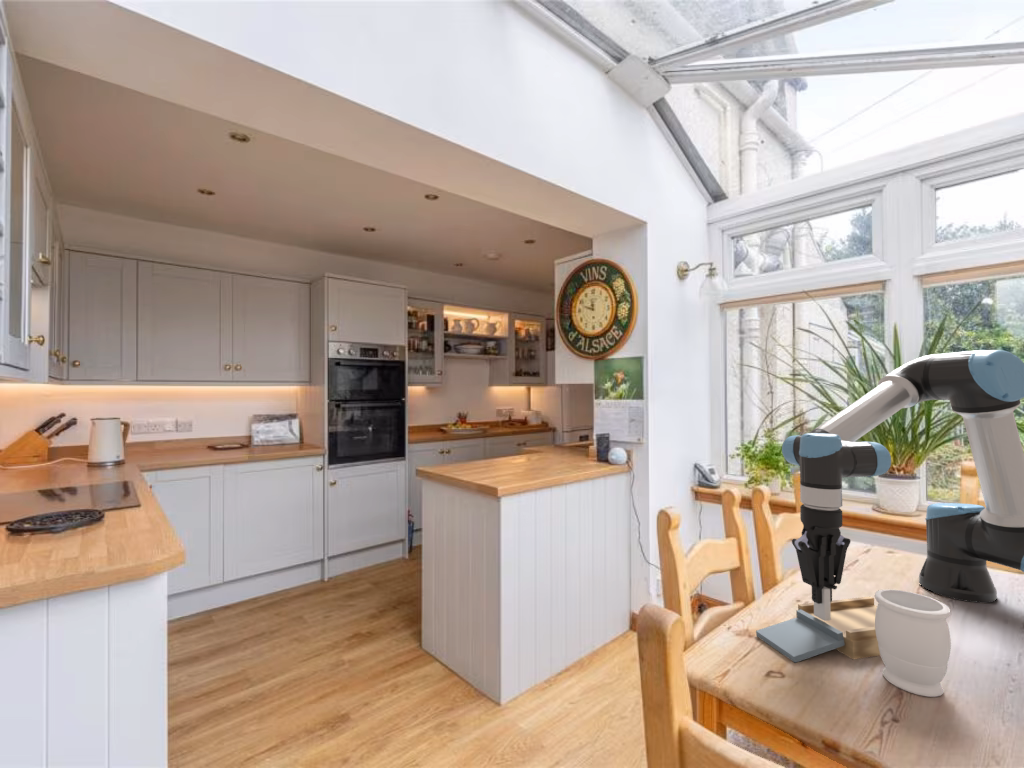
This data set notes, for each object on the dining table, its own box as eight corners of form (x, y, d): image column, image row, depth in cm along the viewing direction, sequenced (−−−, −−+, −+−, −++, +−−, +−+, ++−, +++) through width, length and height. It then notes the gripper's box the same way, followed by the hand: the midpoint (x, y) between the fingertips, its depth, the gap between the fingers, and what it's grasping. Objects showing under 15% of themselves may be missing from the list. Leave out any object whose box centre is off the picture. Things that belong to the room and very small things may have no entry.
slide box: (868, 616, 112) (868, 595, 112) (932, 648, 98) (932, 623, 98) (796, 625, 107) (796, 603, 107) (853, 659, 94) (852, 634, 94)
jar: (966, 696, 82) (965, 609, 83) (924, 707, 79) (923, 617, 80) (901, 662, 93) (900, 585, 93) (861, 671, 90) (860, 591, 90)
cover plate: (802, 621, 105) (800, 609, 105) (844, 645, 95) (842, 632, 95) (756, 636, 103) (754, 623, 103) (794, 662, 93) (792, 649, 92)
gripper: (830, 500, 106) (832, 606, 106) (781, 503, 103) (782, 612, 103) (862, 508, 99) (863, 622, 98) (809, 512, 96) (811, 629, 96)
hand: (822, 617), depth 101 cm, fingers closed
